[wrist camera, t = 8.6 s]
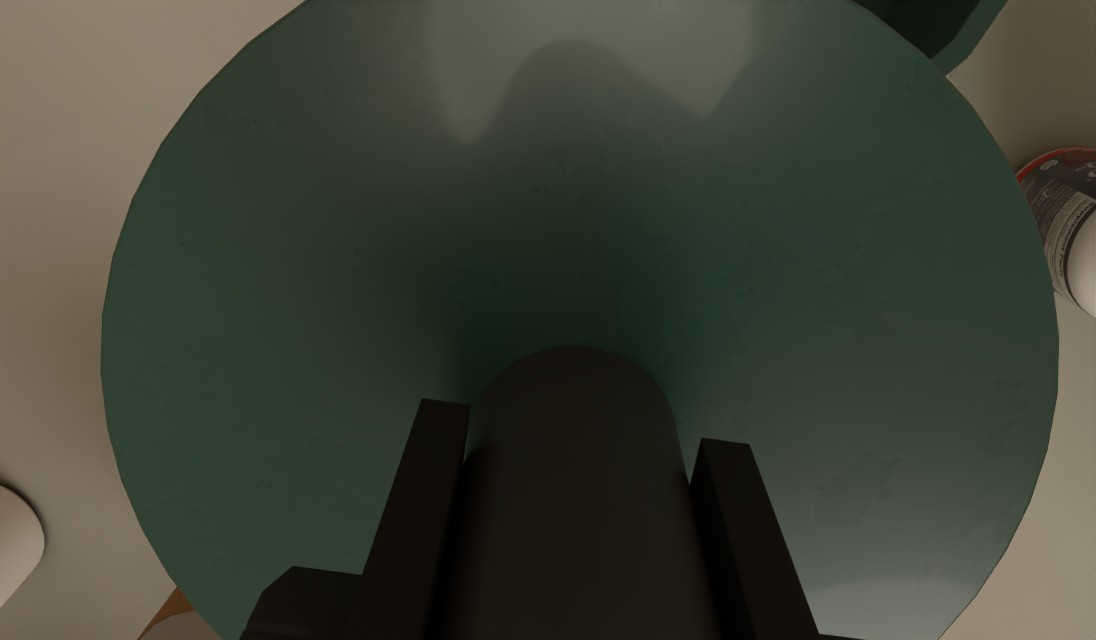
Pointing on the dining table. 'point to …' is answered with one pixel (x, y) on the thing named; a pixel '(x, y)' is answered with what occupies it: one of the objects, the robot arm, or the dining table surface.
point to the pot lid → (583, 311)
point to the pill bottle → (1066, 219)
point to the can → (17, 542)
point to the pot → (938, 25)
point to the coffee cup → (178, 622)
